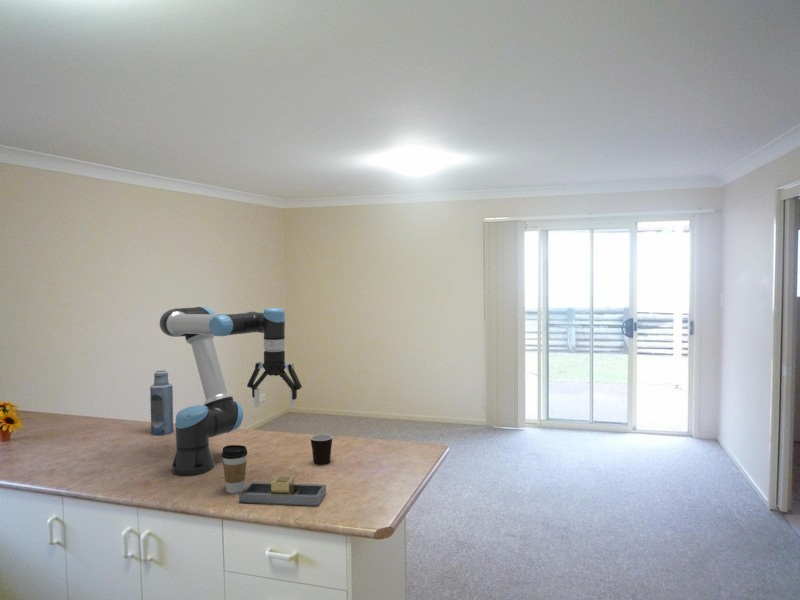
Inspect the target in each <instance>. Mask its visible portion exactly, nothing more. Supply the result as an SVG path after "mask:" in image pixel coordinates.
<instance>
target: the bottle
mask: <svg viewBox="0 0 800 600" xmlns="http://www.w3.org/2000/svg"><path fill="white" fill-rule="evenodd" d="M153 376H154V380H153V384H152V385H150V387H149V389H150V391H149V392H150V394H149V395H150V396H149V398H150V400H149V401H150V421H151V422H150V423H151V424H150V427H151V428H150V429H151V433H150V434H151V435H153V436H163V435H164V436H165V435H169V434H171V433H173V432H174V406H173V405H174V398H173V396H174V395H173V392H174V391H173V384H172V383H170V382H169V372H168V371H167V370H166V369H157V370H156V371H155V372H154V373H153Z"/></svg>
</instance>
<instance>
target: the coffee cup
mask: <svg viewBox="0 0 800 600" xmlns="http://www.w3.org/2000/svg"><path fill="white" fill-rule="evenodd" d="M247 455H248V449H247V447H246V446H245V445H240V444H229V445H226V446H223V447H222V452H221V457H222V459H223V462H222V464H223V465H222V466H223V471H224V472H223V473H224V479H225V480H224V481H225V489H226V493H228V494H238V493H240V492H242V491H243V490H244V489H245V485H246V484H245V482H246V471H247V470H246V469H247Z"/></svg>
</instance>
